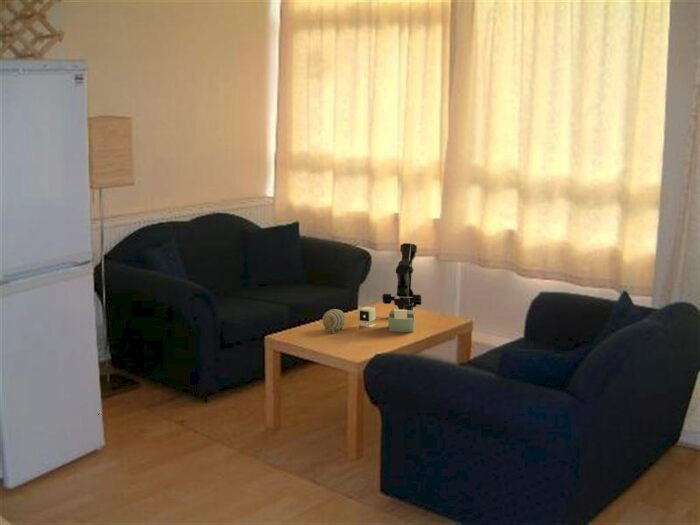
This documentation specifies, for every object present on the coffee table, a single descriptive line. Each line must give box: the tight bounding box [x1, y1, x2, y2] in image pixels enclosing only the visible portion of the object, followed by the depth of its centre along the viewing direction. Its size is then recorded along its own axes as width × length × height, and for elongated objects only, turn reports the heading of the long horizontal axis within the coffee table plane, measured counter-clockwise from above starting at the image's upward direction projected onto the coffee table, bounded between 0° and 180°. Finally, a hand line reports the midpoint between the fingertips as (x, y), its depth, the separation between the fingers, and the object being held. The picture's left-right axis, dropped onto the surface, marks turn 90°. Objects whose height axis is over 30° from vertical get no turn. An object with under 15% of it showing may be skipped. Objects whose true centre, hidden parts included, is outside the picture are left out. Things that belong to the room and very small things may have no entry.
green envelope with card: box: [387, 308, 415, 333], centre depth 399 cm, size 1×12×13 cm, turn 82°
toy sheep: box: [322, 308, 346, 335], centre depth 406 cm, size 11×17×11 cm, turn 153°
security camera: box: [358, 306, 376, 328], centre depth 412 cm, size 6×7×10 cm
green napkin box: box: [388, 309, 416, 330], centre depth 406 cm, size 8×12×10 cm, turn 81°
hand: (400, 314), depth 397 cm, fingers closed, pressing on green envelope with card
